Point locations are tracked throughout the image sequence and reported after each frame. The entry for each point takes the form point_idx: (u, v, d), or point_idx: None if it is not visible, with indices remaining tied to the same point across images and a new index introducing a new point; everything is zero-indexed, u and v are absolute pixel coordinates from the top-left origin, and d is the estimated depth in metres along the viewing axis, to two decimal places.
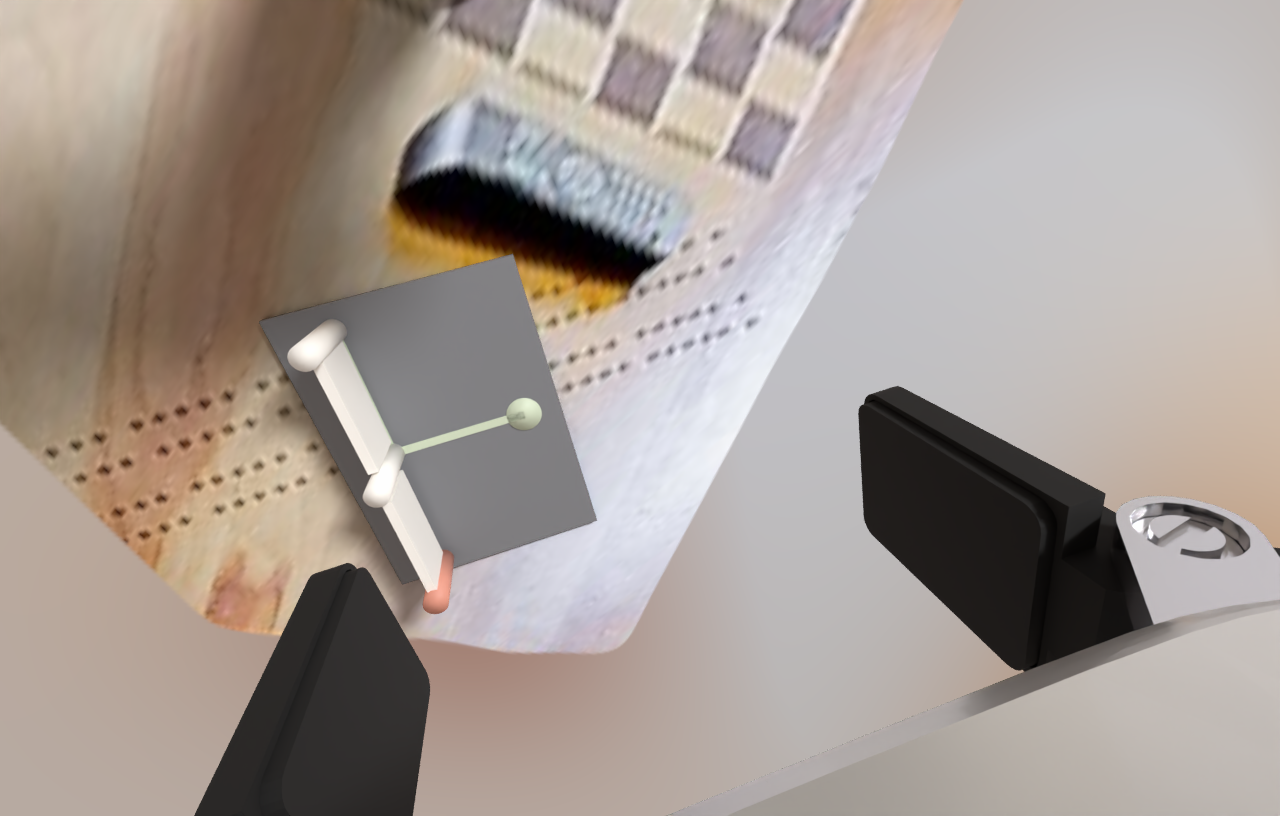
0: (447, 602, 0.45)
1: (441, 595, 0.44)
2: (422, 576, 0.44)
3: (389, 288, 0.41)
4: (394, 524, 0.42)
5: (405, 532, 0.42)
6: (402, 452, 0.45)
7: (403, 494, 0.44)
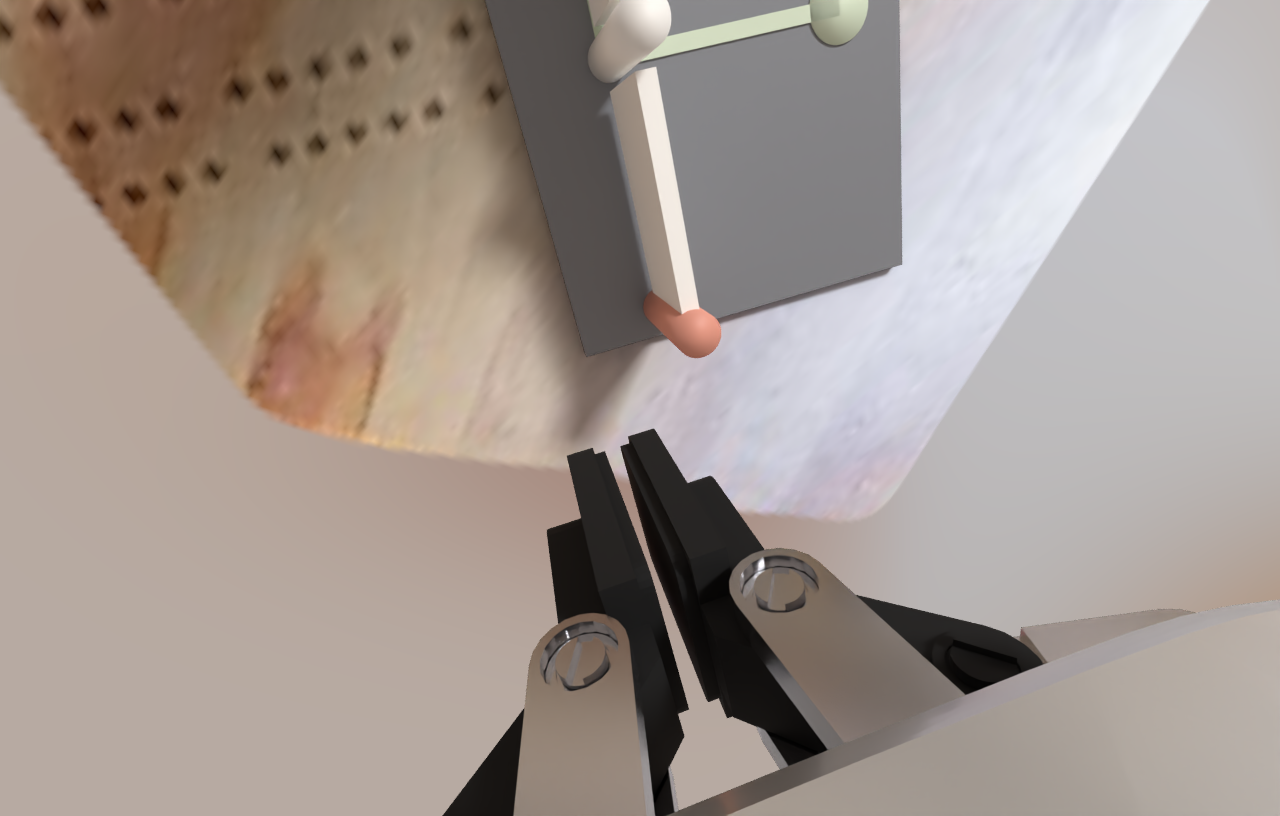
0: (719, 334, 0.23)
1: (712, 316, 0.23)
2: (680, 273, 0.22)
3: None
4: (651, 130, 0.20)
5: (667, 156, 0.21)
6: None
7: None
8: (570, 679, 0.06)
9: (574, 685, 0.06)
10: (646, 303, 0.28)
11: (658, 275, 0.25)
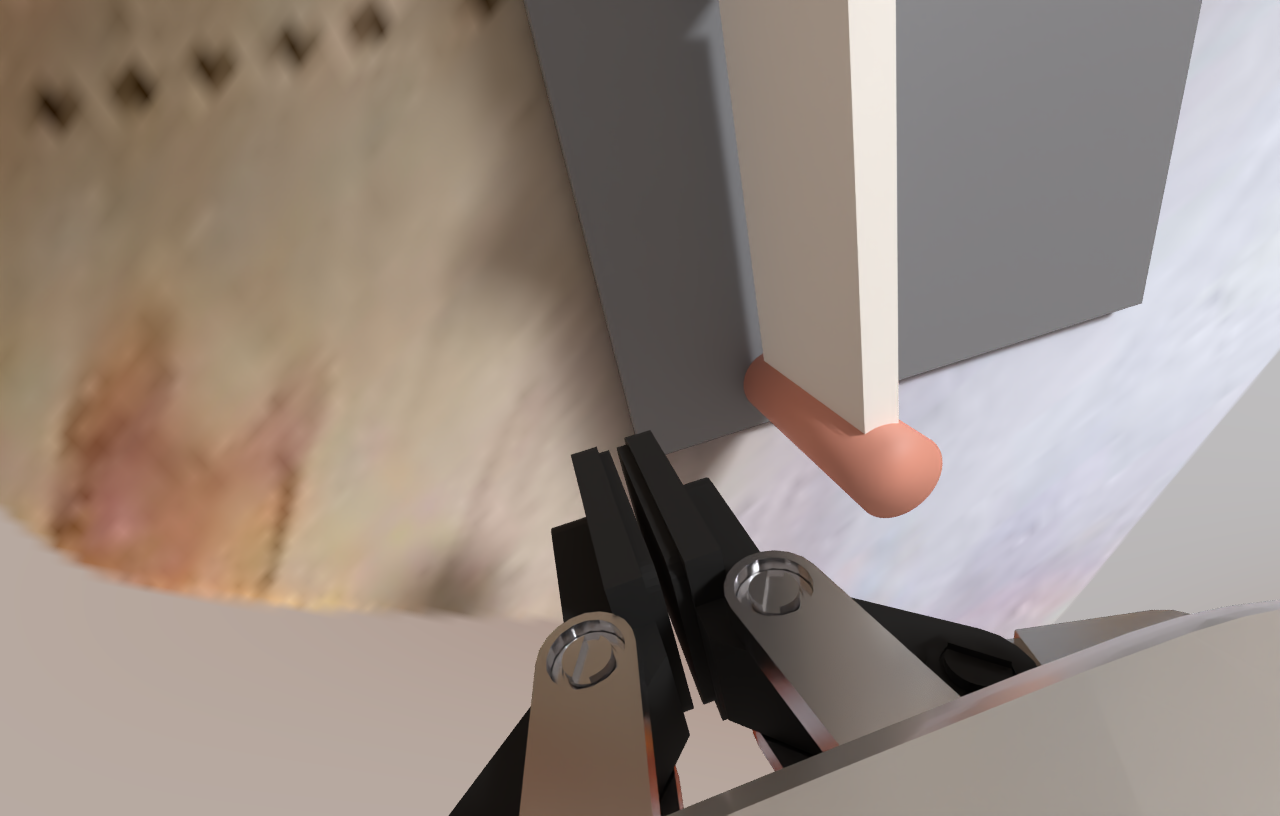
0: (937, 472, 0.12)
1: (930, 441, 0.11)
2: (873, 357, 0.11)
3: None
4: (860, 41, 0.08)
5: (887, 105, 0.09)
6: None
7: None
8: (576, 677, 0.06)
9: (580, 683, 0.06)
10: (752, 380, 0.16)
11: (794, 342, 0.14)
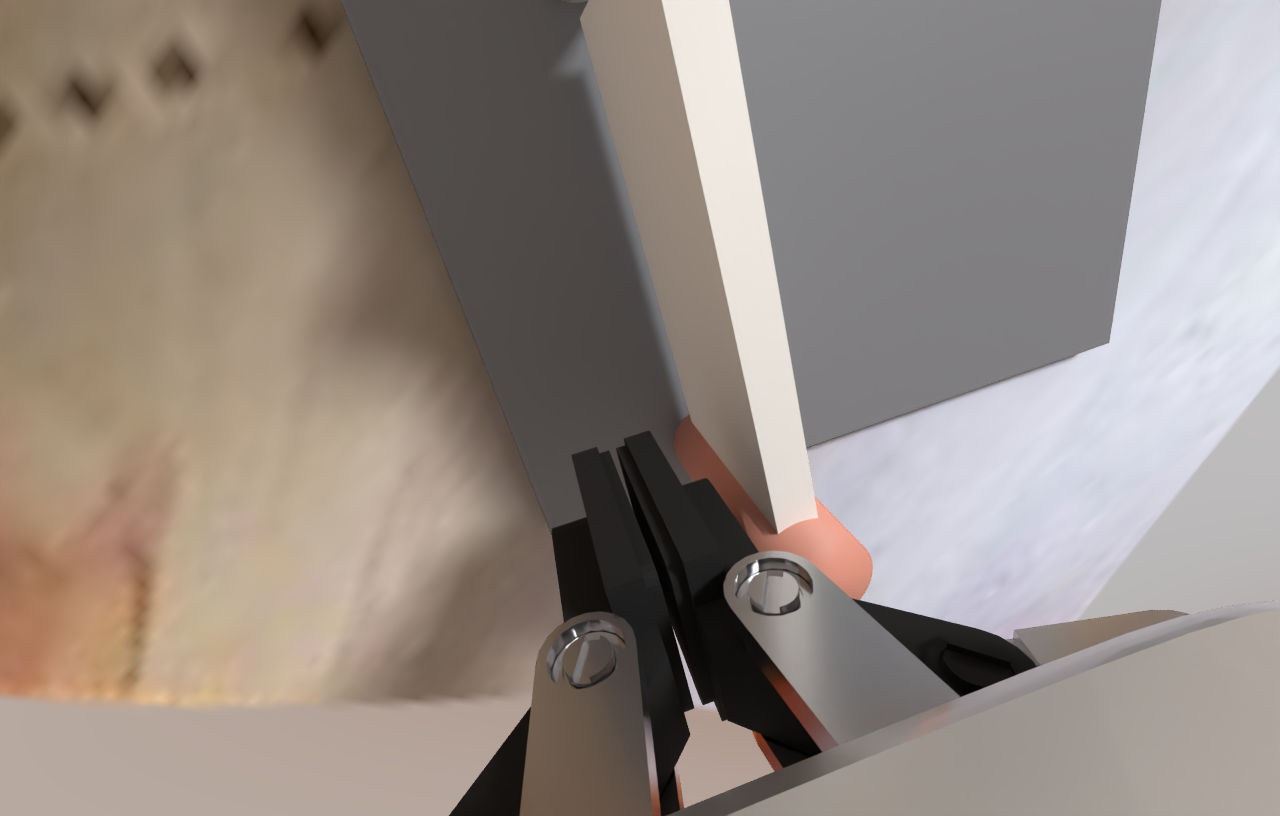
0: (868, 573, 0.10)
1: (853, 541, 0.10)
2: (774, 451, 0.09)
3: None
4: (697, 94, 0.07)
5: (745, 166, 0.07)
6: None
7: None
8: (576, 677, 0.06)
9: (580, 683, 0.06)
10: (680, 444, 0.14)
11: (708, 413, 0.12)
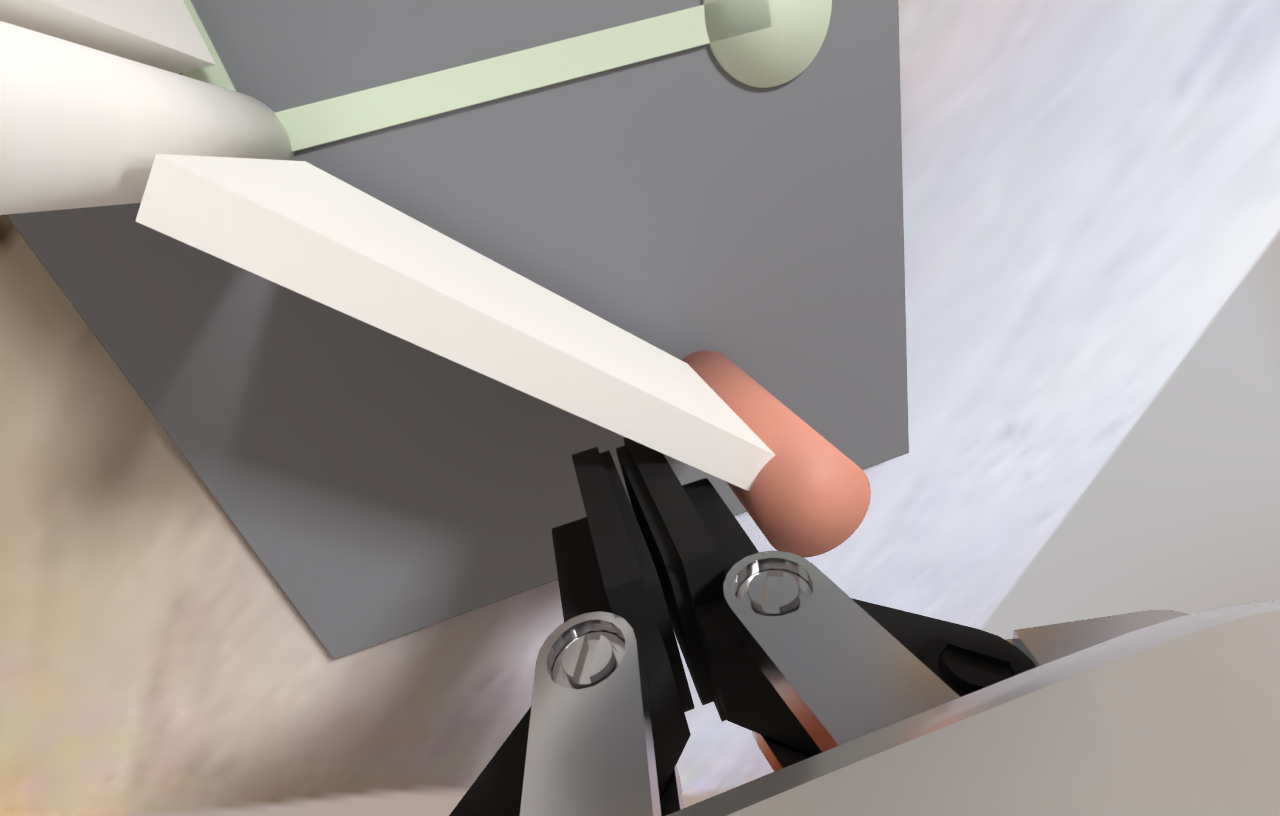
0: (857, 471, 0.09)
1: (814, 461, 0.09)
2: (679, 444, 0.09)
3: None
4: (327, 290, 0.07)
5: (420, 295, 0.07)
6: (273, 124, 0.10)
7: (331, 197, 0.09)
8: (577, 677, 0.06)
9: (581, 683, 0.06)
10: None
11: None
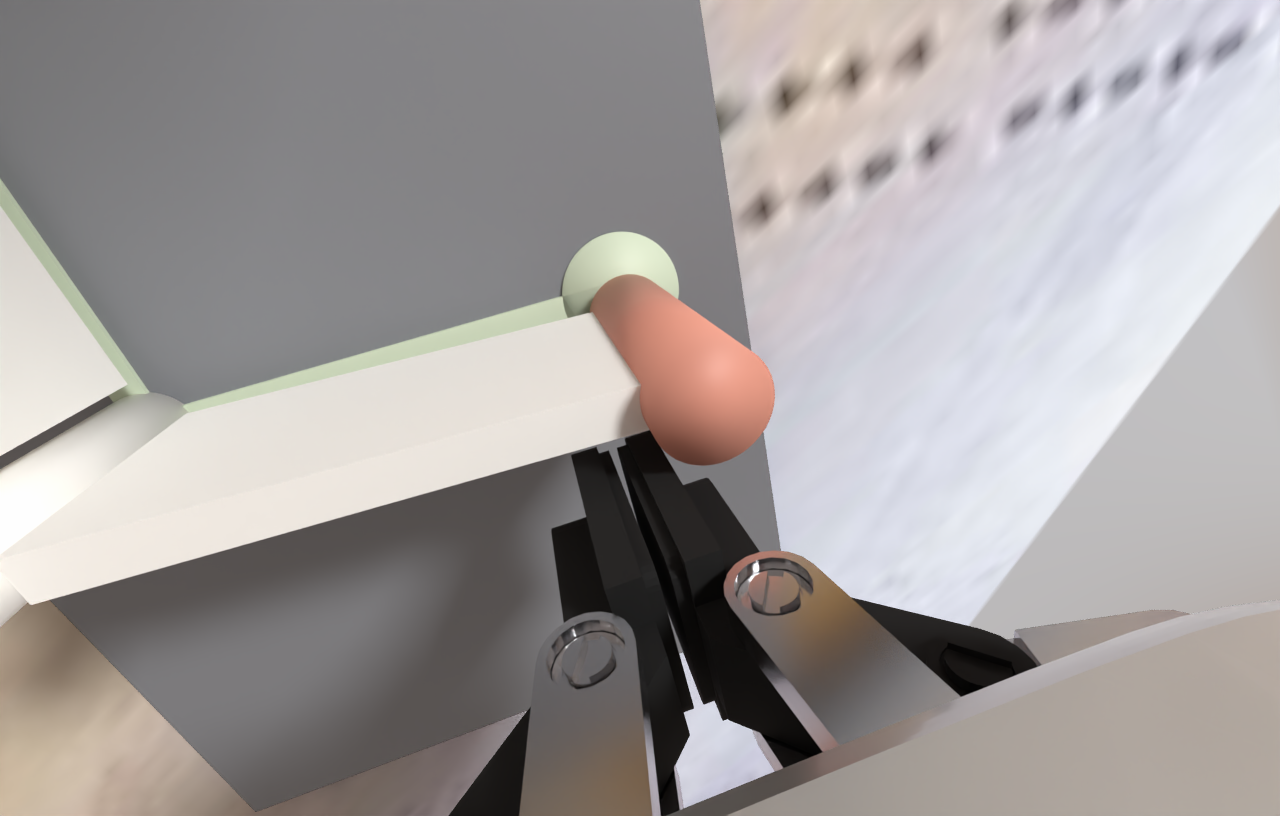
0: (718, 347, 0.08)
1: (664, 373, 0.08)
2: (542, 445, 0.08)
3: None
4: (173, 552, 0.08)
5: (229, 506, 0.08)
6: None
7: (183, 448, 0.10)
8: (576, 677, 0.06)
9: (580, 683, 0.06)
10: None
11: None
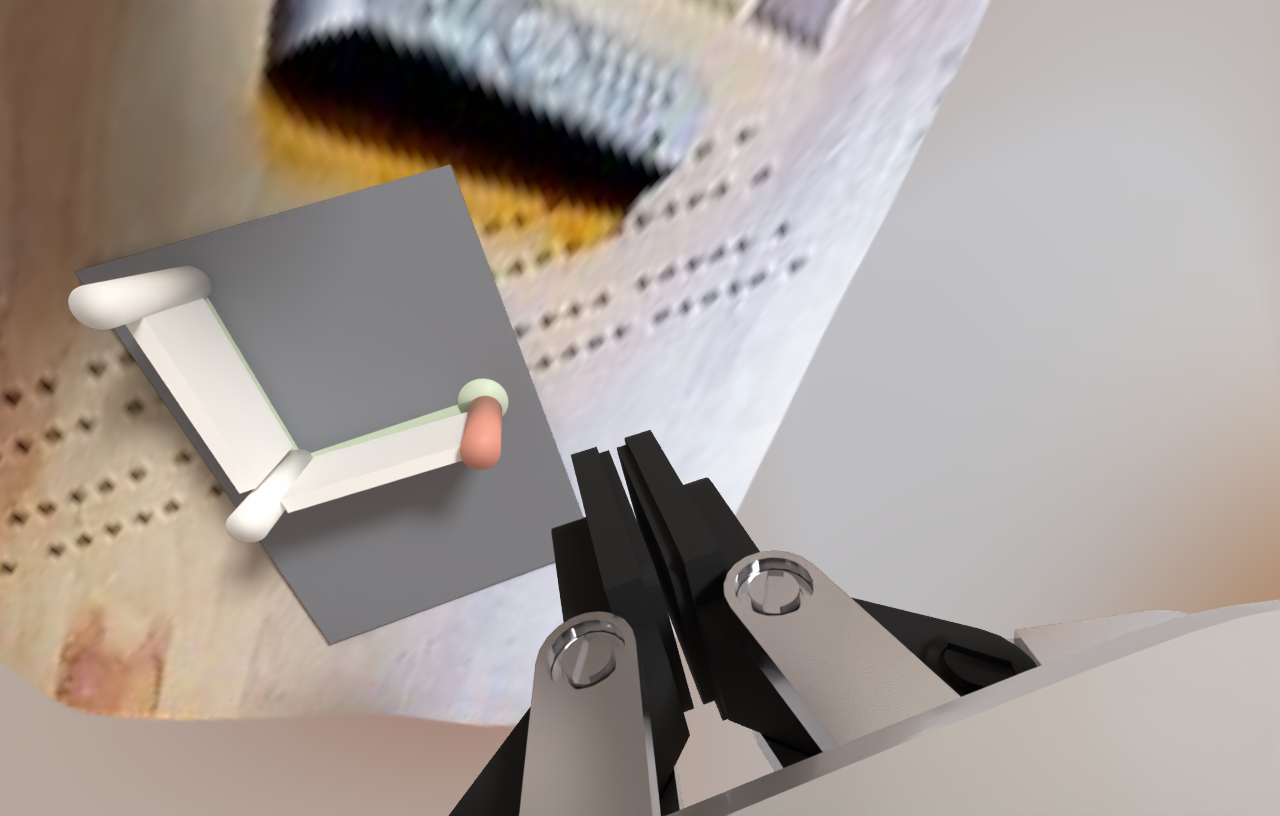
0: (478, 435, 0.27)
1: (463, 443, 0.27)
2: (432, 464, 0.28)
3: (269, 217, 0.28)
4: (326, 497, 0.27)
5: (342, 484, 0.27)
6: (310, 460, 0.32)
7: (319, 469, 0.29)
8: (576, 677, 0.06)
9: (580, 684, 0.06)
10: None
11: None
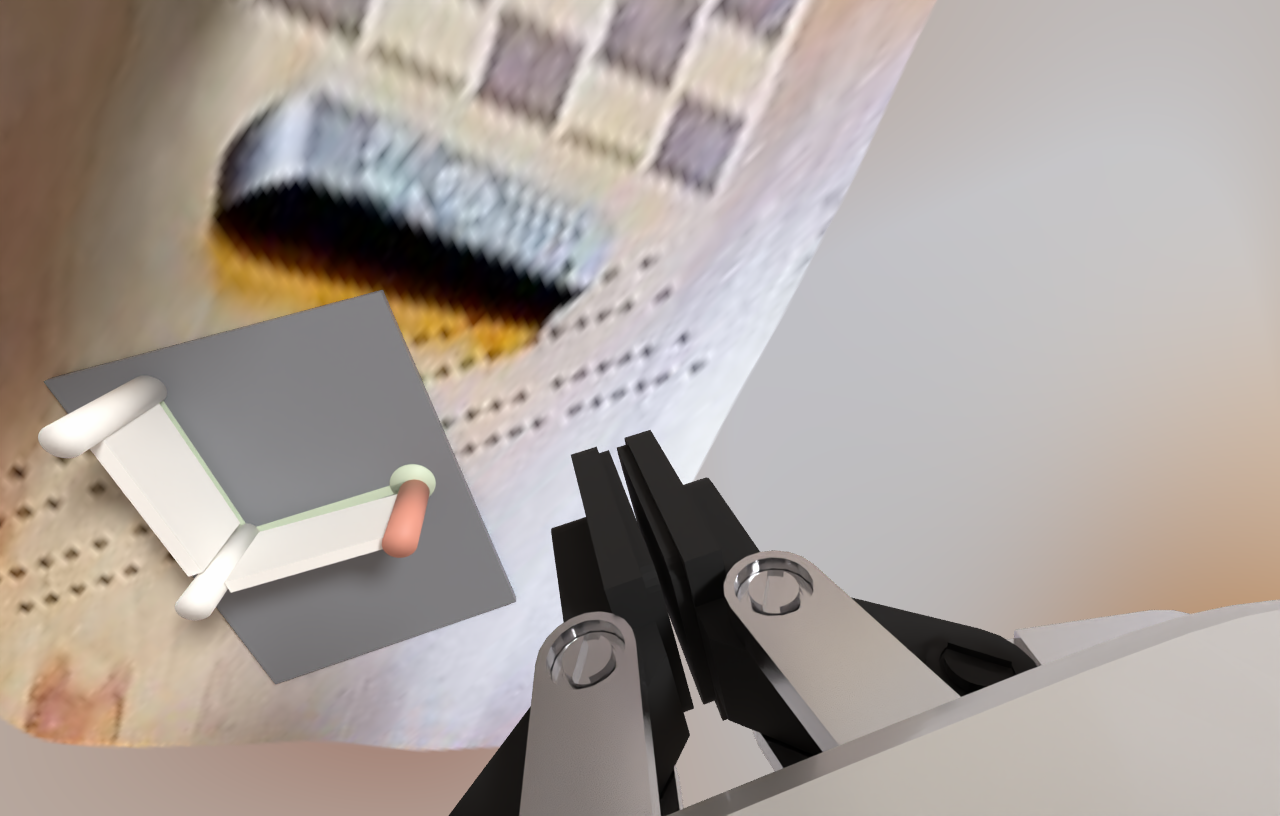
0: (398, 530, 0.32)
1: (384, 537, 0.32)
2: (358, 552, 0.33)
3: (218, 336, 0.32)
4: (264, 580, 0.32)
5: (278, 569, 0.32)
6: (255, 534, 0.36)
7: (262, 548, 0.34)
8: (576, 677, 0.06)
9: (580, 683, 0.06)
10: None
11: None
